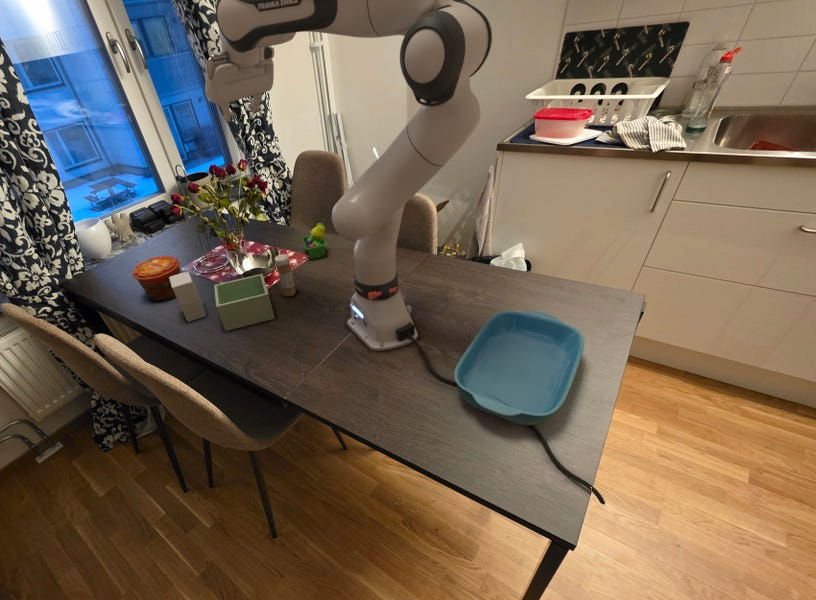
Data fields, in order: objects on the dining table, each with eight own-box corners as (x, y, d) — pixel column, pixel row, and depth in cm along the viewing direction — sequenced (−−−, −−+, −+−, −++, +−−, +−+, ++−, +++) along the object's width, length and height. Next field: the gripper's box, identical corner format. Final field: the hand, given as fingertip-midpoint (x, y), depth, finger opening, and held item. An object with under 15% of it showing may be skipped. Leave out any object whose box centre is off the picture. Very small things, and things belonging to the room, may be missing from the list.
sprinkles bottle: (291, 288, 134) (283, 252, 125) (298, 293, 131) (291, 256, 122) (280, 293, 132) (271, 257, 123) (287, 298, 129) (279, 261, 120)
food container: (135, 303, 138) (121, 276, 131) (160, 280, 150) (148, 254, 142) (174, 304, 134) (161, 277, 127) (196, 281, 146) (186, 254, 139)
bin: (274, 318, 121) (268, 293, 115) (225, 331, 119) (216, 306, 113) (268, 297, 131) (262, 273, 125) (222, 308, 129) (214, 285, 123)
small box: (183, 310, 131) (168, 276, 122) (202, 304, 132) (188, 270, 124) (187, 322, 125) (171, 287, 116) (206, 316, 126) (192, 281, 118)
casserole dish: (545, 454, 75) (554, 431, 71) (437, 410, 86) (439, 388, 82) (584, 347, 96) (594, 323, 92) (494, 323, 107) (498, 301, 103)
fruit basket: (303, 249, 156) (298, 222, 149) (324, 245, 157) (321, 217, 150) (308, 261, 148) (303, 233, 140) (331, 256, 149) (327, 228, 141)
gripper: (217, 60, 81) (221, 130, 92) (279, 48, 93) (276, 112, 104) (195, 50, 83) (202, 120, 94) (259, 40, 95) (258, 103, 106)
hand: (241, 116), depth 99 cm, fingers open, 8 cm apart
